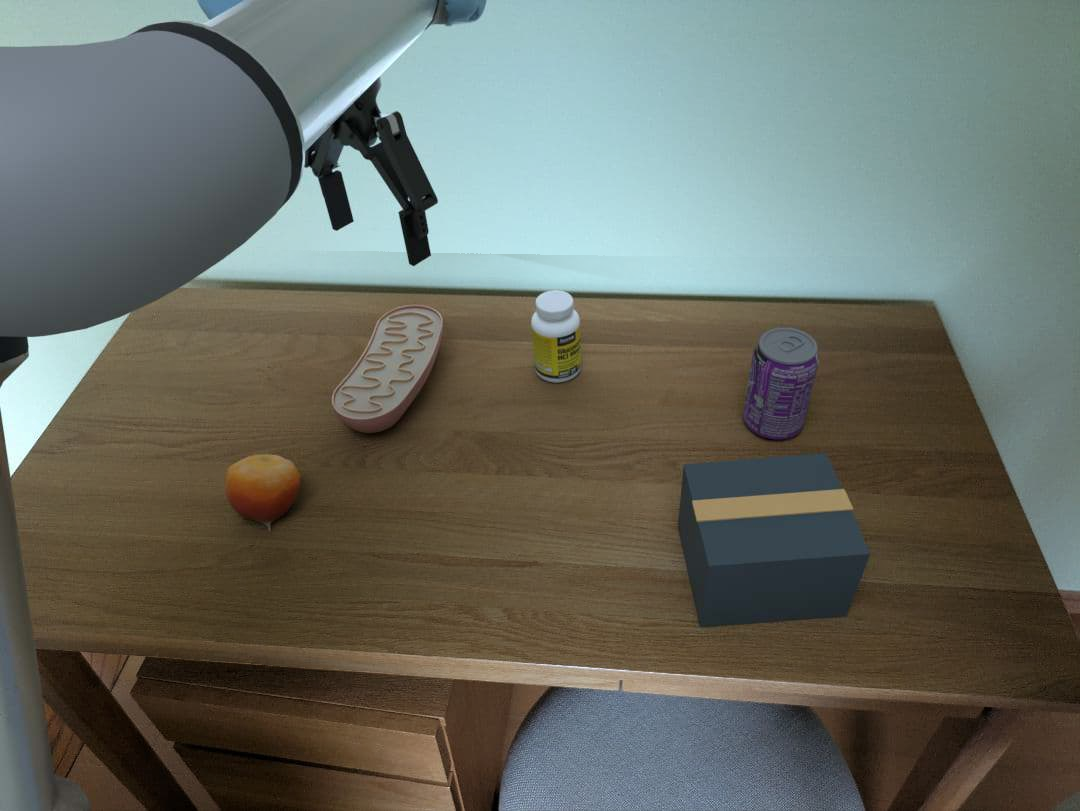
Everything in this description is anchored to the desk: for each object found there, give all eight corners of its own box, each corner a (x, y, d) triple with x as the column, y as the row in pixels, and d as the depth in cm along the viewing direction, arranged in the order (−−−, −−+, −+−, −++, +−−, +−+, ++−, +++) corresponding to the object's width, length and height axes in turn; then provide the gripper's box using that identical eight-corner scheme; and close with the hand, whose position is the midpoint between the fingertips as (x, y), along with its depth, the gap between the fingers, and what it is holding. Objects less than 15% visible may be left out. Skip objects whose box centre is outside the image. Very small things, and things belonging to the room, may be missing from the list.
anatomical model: (395, 330, 111) (389, 301, 108) (461, 336, 109) (456, 307, 106) (329, 443, 95) (318, 414, 92) (404, 453, 93) (397, 423, 90)
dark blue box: (698, 627, 74) (707, 564, 67) (676, 527, 83) (682, 462, 76) (848, 616, 74) (872, 552, 67) (809, 517, 83) (828, 451, 76)
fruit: (207, 530, 85) (207, 460, 83) (253, 507, 92) (254, 442, 90) (271, 545, 82) (273, 474, 81) (313, 520, 90) (315, 454, 88)
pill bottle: (563, 390, 100) (559, 321, 92) (525, 373, 103) (518, 305, 95) (590, 364, 103) (589, 296, 96) (553, 348, 106) (549, 281, 99)
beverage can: (768, 394, 97) (782, 316, 89) (815, 424, 93) (835, 345, 84) (729, 421, 94) (741, 343, 86) (777, 453, 90) (794, 374, 81)
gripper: (452, 64, 72) (479, 260, 87) (291, 23, 85) (337, 199, 99) (392, 92, 68) (431, 292, 83) (232, 44, 81) (290, 225, 95)
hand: (380, 242), depth 91 cm, fingers open, 13 cm apart
